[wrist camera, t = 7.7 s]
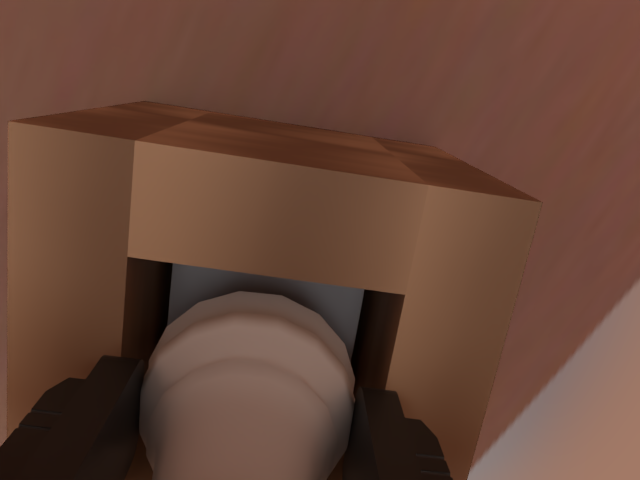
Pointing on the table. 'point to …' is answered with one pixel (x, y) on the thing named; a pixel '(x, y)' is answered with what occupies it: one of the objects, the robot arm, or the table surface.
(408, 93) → the table surface
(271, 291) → the plate
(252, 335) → the rook chess piece
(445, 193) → the socket block
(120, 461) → the robot arm
